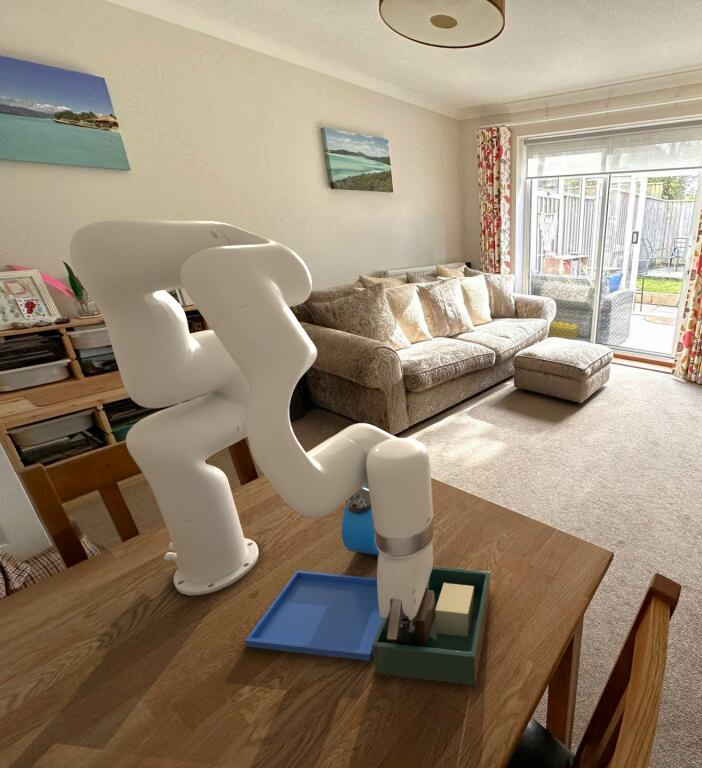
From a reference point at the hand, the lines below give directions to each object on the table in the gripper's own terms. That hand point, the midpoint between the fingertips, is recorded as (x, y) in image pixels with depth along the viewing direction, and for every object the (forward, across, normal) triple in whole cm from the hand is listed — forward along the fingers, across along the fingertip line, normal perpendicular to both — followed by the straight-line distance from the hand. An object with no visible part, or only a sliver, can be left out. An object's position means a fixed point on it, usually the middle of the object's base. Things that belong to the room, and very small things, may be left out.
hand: (414, 625), depth 60 cm
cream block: (+3, -4, +5) cm, 7 cm away
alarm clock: (+4, -19, -14) cm, 24 cm away
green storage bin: (+4, -2, +3) cm, 5 cm away
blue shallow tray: (+4, -3, -15) cm, 16 cm away
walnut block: (+1, 0, 0) cm, 1 cm away
